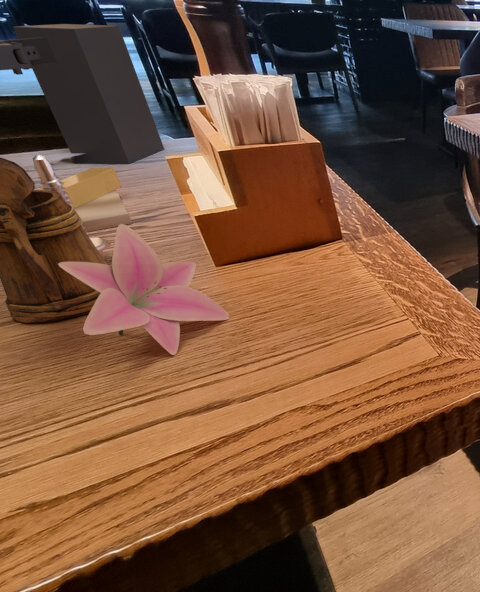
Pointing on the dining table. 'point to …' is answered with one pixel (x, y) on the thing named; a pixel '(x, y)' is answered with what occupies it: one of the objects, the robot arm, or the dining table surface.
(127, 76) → the pedestal
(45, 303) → the wooden mug
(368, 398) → the dining table surface
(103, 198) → the board
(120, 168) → the dining table surface
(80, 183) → the yellow bar
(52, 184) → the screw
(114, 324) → the lily
